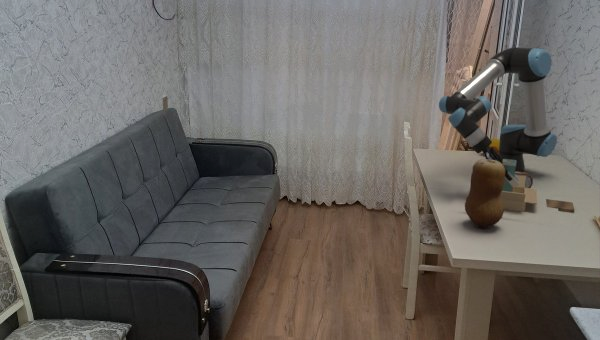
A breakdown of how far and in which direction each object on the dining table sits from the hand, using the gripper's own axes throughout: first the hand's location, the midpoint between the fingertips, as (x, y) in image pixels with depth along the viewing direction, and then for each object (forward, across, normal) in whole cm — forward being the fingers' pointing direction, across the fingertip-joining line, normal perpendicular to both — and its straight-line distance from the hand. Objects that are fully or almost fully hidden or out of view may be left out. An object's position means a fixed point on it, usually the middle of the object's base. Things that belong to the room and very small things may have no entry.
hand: (516, 183), depth 212 cm
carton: (+4, 0, -9) cm, 10 cm away
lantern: (-2, -82, -16) cm, 84 cm away
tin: (+7, -23, -7) cm, 25 cm away
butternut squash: (-1, +30, -14) cm, 33 cm away
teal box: (+1, 0, -6) cm, 6 cm away
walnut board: (+19, -5, +6) cm, 20 cm away
